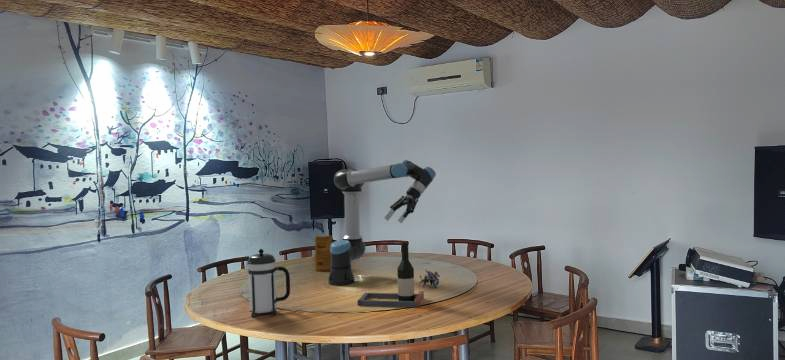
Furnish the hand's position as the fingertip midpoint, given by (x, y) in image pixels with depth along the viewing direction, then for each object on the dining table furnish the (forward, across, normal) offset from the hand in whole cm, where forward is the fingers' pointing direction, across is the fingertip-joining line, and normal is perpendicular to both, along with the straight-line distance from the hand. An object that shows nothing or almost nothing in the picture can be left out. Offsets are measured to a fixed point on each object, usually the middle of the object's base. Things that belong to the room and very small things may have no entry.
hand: (392, 220), depth 283 cm
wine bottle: (+33, -26, -20) cm, 46 cm away
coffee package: (+33, +73, -21) cm, 83 cm away
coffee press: (+76, 0, +23) cm, 80 cm away
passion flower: (+14, -8, -39) cm, 42 cm away
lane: (+36, -21, -16) cm, 45 cm away
